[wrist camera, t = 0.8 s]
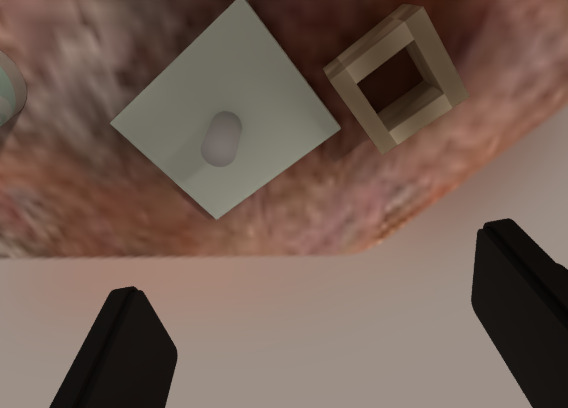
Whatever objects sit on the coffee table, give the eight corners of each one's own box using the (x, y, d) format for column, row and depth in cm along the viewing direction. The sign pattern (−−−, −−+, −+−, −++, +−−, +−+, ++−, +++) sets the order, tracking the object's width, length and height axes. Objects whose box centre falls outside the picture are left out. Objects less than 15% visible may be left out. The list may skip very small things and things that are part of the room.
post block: (242, -6, 25) (233, -3, 20) (339, 124, 30) (352, 154, 25) (114, 119, 29) (80, 148, 24) (217, 213, 34) (208, 254, 29)
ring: (403, 3, 25) (423, 6, 22) (446, 82, 28) (469, 96, 25) (322, 68, 28) (329, 80, 24) (370, 135, 30) (382, 155, 27)
